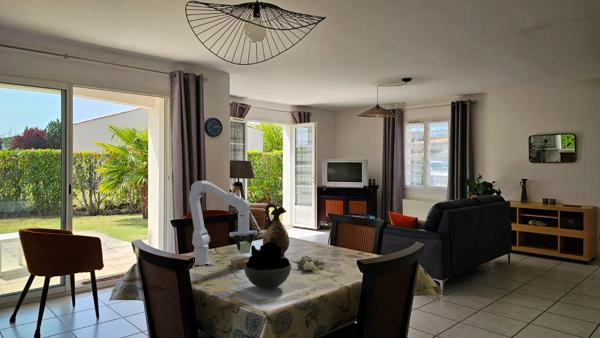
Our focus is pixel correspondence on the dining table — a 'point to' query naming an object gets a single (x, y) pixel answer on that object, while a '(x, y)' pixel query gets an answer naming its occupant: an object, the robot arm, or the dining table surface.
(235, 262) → the base block
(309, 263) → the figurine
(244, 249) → the cube
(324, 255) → the dining table surface
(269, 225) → the ceramic jug
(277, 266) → the coal bowl
